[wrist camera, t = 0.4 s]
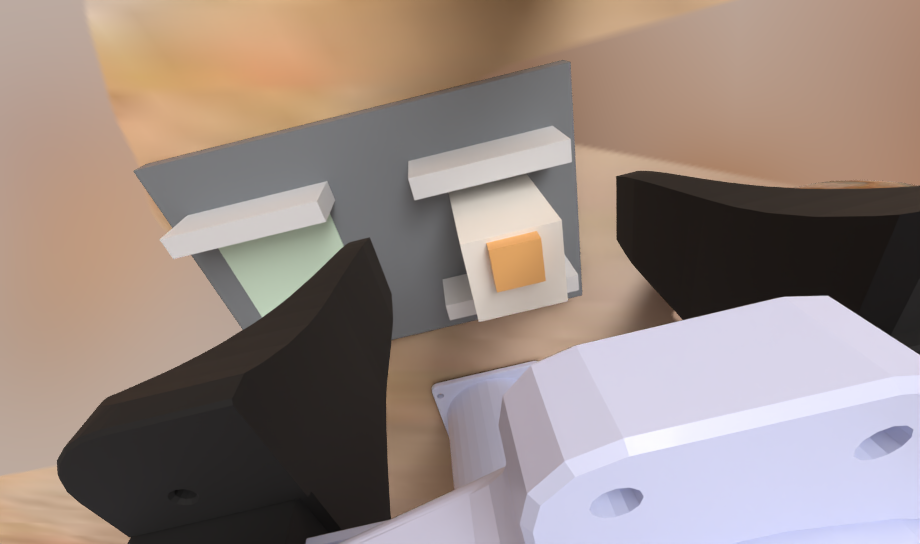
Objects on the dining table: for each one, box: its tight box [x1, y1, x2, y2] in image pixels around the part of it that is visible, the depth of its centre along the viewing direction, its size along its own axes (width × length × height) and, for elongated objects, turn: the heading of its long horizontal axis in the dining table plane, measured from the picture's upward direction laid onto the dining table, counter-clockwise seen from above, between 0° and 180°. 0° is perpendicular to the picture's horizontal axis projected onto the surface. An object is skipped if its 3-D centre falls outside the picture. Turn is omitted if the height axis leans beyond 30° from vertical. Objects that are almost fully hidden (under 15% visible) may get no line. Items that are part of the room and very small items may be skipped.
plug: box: [449, 174, 568, 322], centre depth 18 cm, size 4×4×6 cm
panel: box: [134, 60, 582, 340], centre depth 20 cm, size 13×20×4 cm, turn 102°
